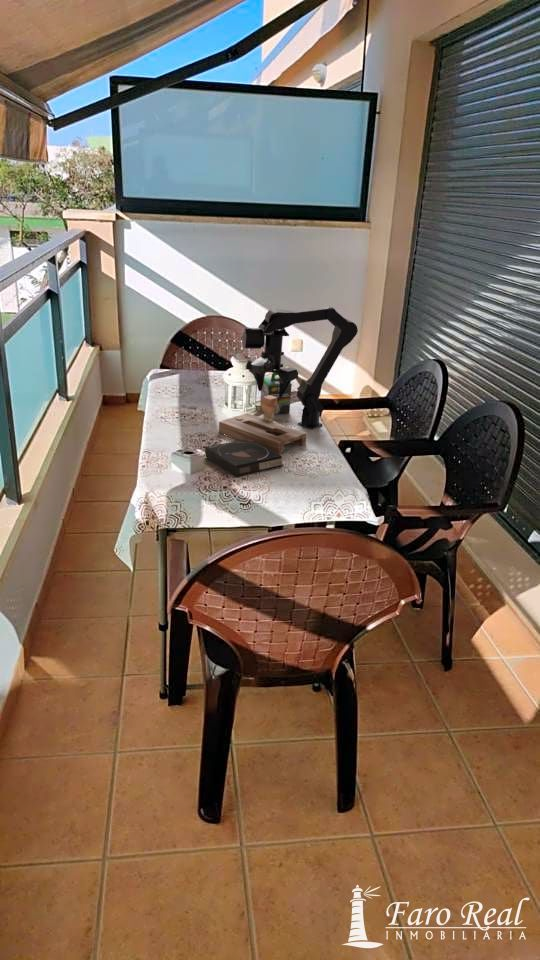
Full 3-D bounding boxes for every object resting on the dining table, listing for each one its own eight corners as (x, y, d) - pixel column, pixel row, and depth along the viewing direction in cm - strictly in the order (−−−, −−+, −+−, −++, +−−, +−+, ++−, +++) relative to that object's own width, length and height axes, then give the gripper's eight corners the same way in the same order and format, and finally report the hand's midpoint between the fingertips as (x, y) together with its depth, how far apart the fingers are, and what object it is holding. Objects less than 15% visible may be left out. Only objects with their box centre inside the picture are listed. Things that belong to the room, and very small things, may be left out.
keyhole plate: (246, 424, 235) (247, 412, 233) (305, 444, 220) (306, 432, 218) (218, 432, 225) (219, 420, 223) (278, 454, 210) (279, 442, 208)
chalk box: (282, 406, 257) (285, 368, 251) (290, 413, 249) (293, 374, 243) (259, 407, 254) (261, 368, 248) (266, 414, 246) (269, 375, 240)
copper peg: (267, 423, 238) (269, 394, 233) (276, 426, 235) (279, 397, 231) (259, 425, 234) (261, 396, 230) (268, 428, 232) (270, 399, 228)
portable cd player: (235, 479, 192) (236, 466, 190) (205, 459, 204) (205, 446, 203) (281, 469, 201) (282, 456, 199) (249, 450, 213) (250, 438, 212)
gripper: (236, 346, 223) (234, 391, 230) (279, 357, 213) (276, 405, 219) (258, 342, 231) (255, 386, 238) (301, 353, 221) (297, 398, 227)
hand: (270, 393), depth 230 cm, fingers open, 9 cm apart
